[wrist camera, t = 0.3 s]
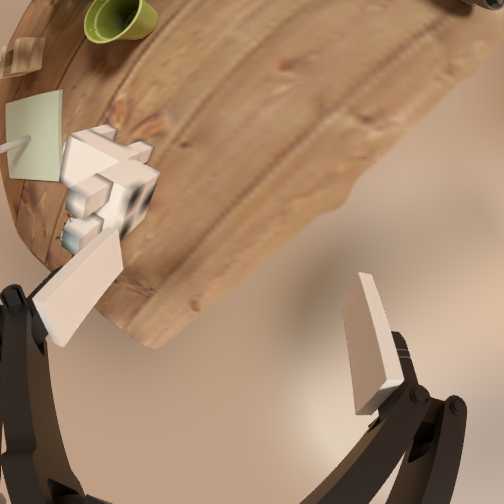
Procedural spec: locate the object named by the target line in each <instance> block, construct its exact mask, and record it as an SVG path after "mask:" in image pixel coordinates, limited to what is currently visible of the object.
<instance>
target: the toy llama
mask: <svg viewBox="0 0 504 504" xmlns="http://www.w3.org/2000/svg"><path fill="white" fill-rule="evenodd" d="M117 132H118V129H117V128H114V127H112V126H110V125H108V124H107V125H102V126H98V127H94V128H91V129H87V130H83V131H80V132H76V133H73V134H69V135H68V137H67V141H65V142H64V146H63V151H62V157H63V159H62V165H61V170H60V176H59V182H60V183H62V184H64V185H65V186H67V187H69V188H68V194H67V200H66V207H65V209H66V210H67V211H69V212H70V213H72V214H73V215H75V216H76V217H78V218H77V219H75V220H74V221H73V222H71V223H70V224H68V225H67V226H66V227H64V228H63V234H62V247H63V248H65V249H66V250H68V251H69V252H71V253H72V254H74V255H76V254H77V253H78V252H79V251H80V250H82V249H83V248H84V247H85V246H86V245H87V244H88V243H89V242H90V241H92V240H93V239H94V238H95V237H96V236H97V235H98V234H100V233H101V232H102V231H103V230H104V229H105V228H107V227H112V228H117V229H118V232H119V240H120V242H121V241H122V240H123V239H124V238H125V237H126V236H127V235H128V234H129V233H130V232H131V231H132V230H133V229H134V228H135V227H136V226H137V225H138V224H139V223H140V222H141V221H142V220H144V217H145V215H146V212H147V209H148V206H149V203H150V201H151V198H152V195H153V192H154V190H155V187H156V185H157V182H158V179H159V177H160V174H161V173H160V172H158V171H156V170H154V169H152V168H150V167H148V166H147V165H145V164H144V163H146V162H148V161H149V160H150V158H151V155H152V153H153V150H154V148H155V147H154V146H152V145H150V144H148V143H146V142H144V141H140V142H137V143H134V144H131V145H128V146H124V145H122V144H120V143H118V142H116V141H115V138H116V135H117Z"/></svg>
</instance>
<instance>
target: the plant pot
mask: <svg viewBox="0 0 504 504" xmlns="http://www.w3.org/2000/svg"><path fill="white" fill-rule="evenodd" d="M130 19H131V21H130V23H129V26H127V24H128V21H129V20H130ZM157 23H158V14H157V12H156V10H155V9H154V8H153V7H152V6H151V5H149V4H148V3H147V2H146V1H145V0H95V1H94V2H93V3H92V4H91V6H90V7H89V9H88V11H87V14H86V16H85V20H84V31H85V34H86V36H87V38H88V39H89V40H90V41H92V42H94V43H108V42H111V41H113V40H116V39H129V40H138V39H142V38H144V37H145V36H147V35H148V34H150V33H151V32H152V31H153V30H154V29H155V27H156V25H157Z"/></svg>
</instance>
